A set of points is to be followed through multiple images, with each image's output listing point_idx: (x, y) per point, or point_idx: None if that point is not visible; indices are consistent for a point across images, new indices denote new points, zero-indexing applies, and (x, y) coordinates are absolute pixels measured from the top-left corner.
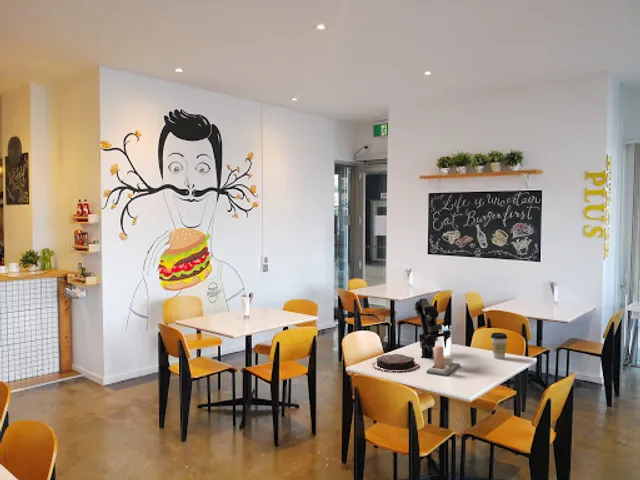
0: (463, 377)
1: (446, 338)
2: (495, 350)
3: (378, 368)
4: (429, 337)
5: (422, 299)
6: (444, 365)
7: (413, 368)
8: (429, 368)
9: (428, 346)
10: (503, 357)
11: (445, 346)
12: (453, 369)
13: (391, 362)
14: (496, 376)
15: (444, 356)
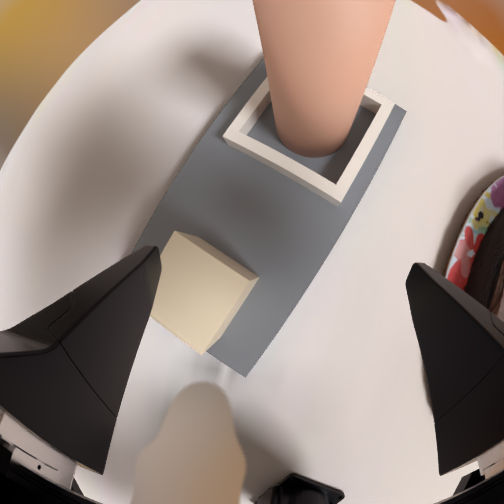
0: (186, 51)
1: (9, 334)
2: None
3: None
4: (463, 499)
5: None
6: (257, 153)
7: (480, 199)
8: (390, 102)
9: (459, 294)
10: None
11: (140, 252)
12: (197, 149)
13: None
14: (56, 99)
15: (206, 320)
